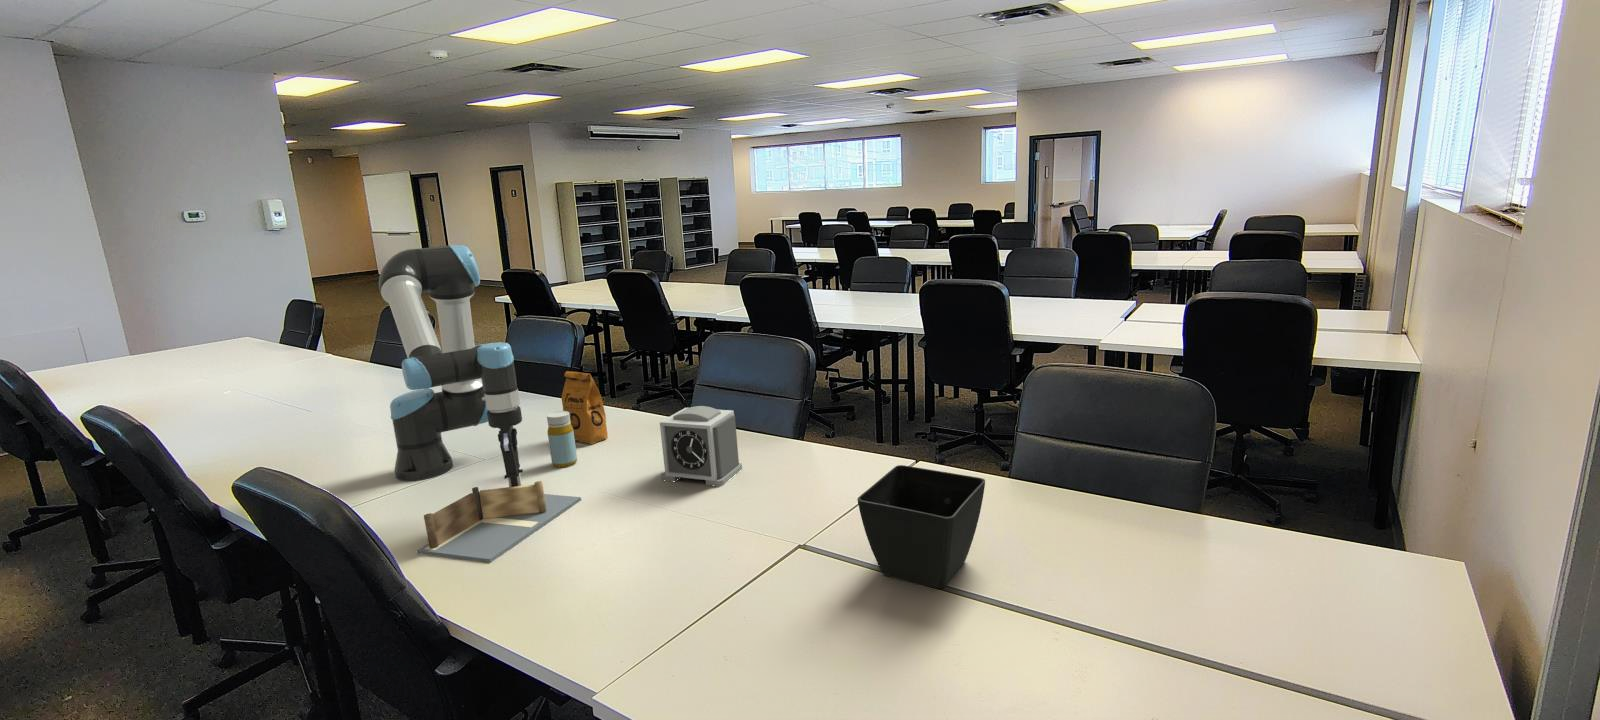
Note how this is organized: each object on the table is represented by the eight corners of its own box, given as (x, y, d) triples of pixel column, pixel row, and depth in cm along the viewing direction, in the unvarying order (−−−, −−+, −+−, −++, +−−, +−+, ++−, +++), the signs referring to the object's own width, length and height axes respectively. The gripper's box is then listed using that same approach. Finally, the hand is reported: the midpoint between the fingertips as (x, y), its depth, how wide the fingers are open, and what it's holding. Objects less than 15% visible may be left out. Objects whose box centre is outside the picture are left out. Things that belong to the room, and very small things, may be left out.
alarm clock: (660, 480, 200) (653, 415, 196) (685, 463, 212) (679, 400, 208) (721, 487, 193) (715, 419, 189) (744, 468, 205) (738, 404, 201)
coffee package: (588, 447, 231) (579, 377, 226) (562, 441, 238) (553, 374, 233) (613, 437, 239) (605, 370, 234) (588, 432, 246) (579, 366, 241)
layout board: (490, 562, 160) (489, 558, 160) (417, 553, 167) (416, 549, 166) (581, 500, 191) (580, 496, 190) (516, 494, 197) (515, 491, 197)
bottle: (570, 468, 214) (563, 417, 210) (547, 468, 215) (540, 417, 212) (581, 459, 220) (575, 410, 217) (560, 459, 222) (553, 410, 218)
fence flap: (483, 519, 180) (478, 490, 178) (484, 516, 182) (480, 487, 180) (545, 512, 182) (541, 483, 180) (546, 508, 184) (542, 480, 182)
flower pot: (953, 604, 134) (951, 516, 130) (858, 580, 144) (854, 498, 140) (987, 557, 150) (987, 478, 146) (900, 538, 160) (897, 464, 156)
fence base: (434, 549, 166) (428, 515, 164) (427, 548, 167) (421, 515, 165) (485, 518, 181) (480, 487, 179) (479, 517, 182) (474, 486, 180)
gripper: (489, 403, 183) (503, 493, 189) (483, 417, 171) (498, 513, 177) (521, 399, 185) (535, 488, 191) (518, 413, 173) (532, 508, 179)
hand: (517, 500), depth 184 cm, fingers closed
